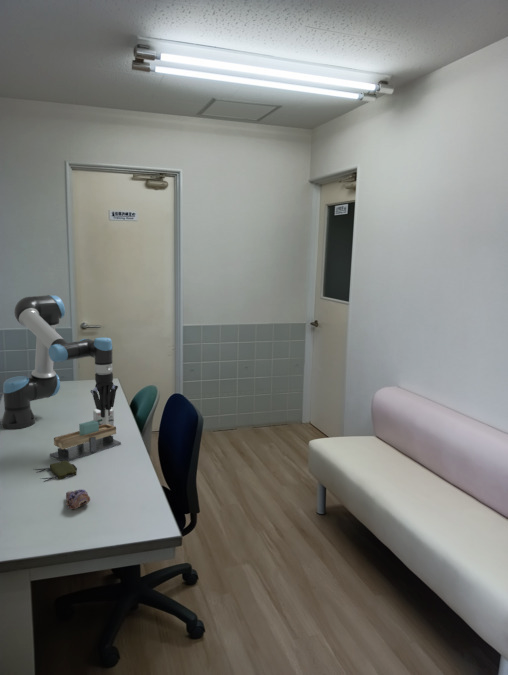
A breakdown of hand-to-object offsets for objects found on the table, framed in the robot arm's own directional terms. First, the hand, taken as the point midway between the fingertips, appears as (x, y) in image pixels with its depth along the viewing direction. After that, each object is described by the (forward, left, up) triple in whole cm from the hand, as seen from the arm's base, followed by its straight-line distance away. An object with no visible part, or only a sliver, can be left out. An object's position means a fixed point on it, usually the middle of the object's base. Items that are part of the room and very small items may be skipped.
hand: (105, 423), depth 227 cm
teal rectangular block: (0, -8, -3) cm, 9 cm away
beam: (0, -10, -4) cm, 11 cm away
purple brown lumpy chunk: (+40, -39, -10) cm, 56 cm away
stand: (0, -10, -10) cm, 14 cm away
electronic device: (+12, -31, -10) cm, 35 cm away
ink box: (-12, +7, -10) cm, 17 cm away
